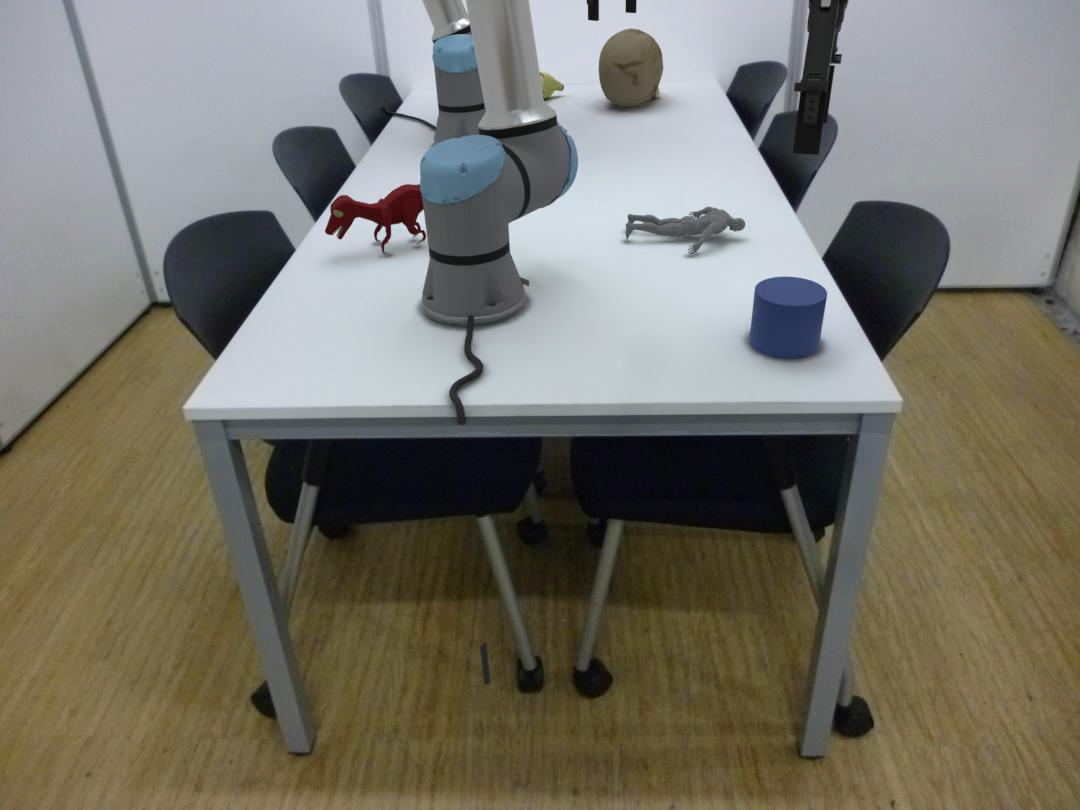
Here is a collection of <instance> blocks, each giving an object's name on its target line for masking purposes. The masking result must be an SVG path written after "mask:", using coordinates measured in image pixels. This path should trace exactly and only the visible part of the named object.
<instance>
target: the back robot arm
mask: <svg viewBox="0 0 1080 810" xmlns="http://www.w3.org/2000/svg"><path fill="white" fill-rule="evenodd" d="M421 1H422V4H423V6H424V9H425V10H426V13H427V16H428V18H429V20H430V22H431V25H432V27H433V33H432V36H431V41H432V44H433V45H432V55H431V56H432V59H431V60H432V62H433V69H434V79H435V87H436V88H435V89H436V98H437V107H438V116H437V120H436V126H435V125H434V124H433V123H430V122H428V121H427V120H425V119H422V118H420V117H416V116H413V115H408V114H405V113H400V112H395V111H391V110H389V109H388V107H387V105H386V104H384V105H383V107H382V111H385V112H386V113H387V114H389V115H392V116H396V117H401V118H405V119H409V120H414V121H417V122H420V123H422V124H425V125H426V126H428V127H429V128H430V129H433V130H435V133H434V136H433V146H434V145H436V144H438V143H440V142H443V141H445V140H448V139H451V138H460V137H462V136H466V135H479V129H478V124H479V122H480V121H481V119H482V118H483V116H484V114H485V111H486V110H485V104H484V99H483V93H482V88H481V82H480V77H479V71H478V66H477V60H476V55H475V49H474V44H473V38H472V33H471V27H470V22H469V16H468V11H466V10H467V9H466V7H465V5H464V2H463V0H421ZM637 4H638V3H637V0H625V14H626V13H627V14H637ZM586 5H587V21H594V22H599V21H600V0H586Z"/></svg>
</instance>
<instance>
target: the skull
mask: <svg viewBox="0 0 1080 810" xmlns="http://www.w3.org/2000/svg"><path fill="white" fill-rule="evenodd" d="M663 61H664V60H663V53H662V49H661V47H660V45H659V43H658V42H657V41H656V39H655V38H654V37H653V36H652V35H650V34H649V33H647V32H646V31H643V30H640V29H638V28H632V27H631V28H625V29H623V30H621V31H620V30H619V31H618V32H617V33H615V34H613V35H612V36H610V37H609V38H608V39H607V40H606V42H605V43H604V44H603V46H602V48H601V50H600V54H599V58H598V79H599V83H600V89H601V90H602V92H603V95H604V96H605V98H606V99H607V100H608V101H609V102H610V103H612V104H614V105H616V106H619V107H623V108H631V107H635V106H638V105H641V104H643V103H647V102H648V101H650V100H652V98H654V99H658V98H659V96H660V89H659V85H660V82H661V80H662V76H663V73H664V62H663Z"/></svg>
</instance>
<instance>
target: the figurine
mask: <svg viewBox="0 0 1080 810" xmlns="http://www.w3.org/2000/svg"><path fill="white" fill-rule="evenodd" d="M636 222H640V223H636ZM728 227H729V231H733V232H735V233H736V232H741V231H743V230H744V229H745V227H746V221H745V220H744V219H743V218H742V217H737V218H734V217H732V216H731V215H730V214H729V212H727V211H726V210H724V209H721V208H720V209H718V208H717V207H713V206H705V207H704V208H703V209H700V210H697V211H690V212H689V214H688V215H684V216H683V217H682V218H678V217H669V218H662V219H660V218H659V217H657V216H655V215H653V214H644V215H642V214H641V215H640V214H633V213H632V214H631V213H628V214H627V222H626V223H625V240H626V241H628V240H629V237H630V235H631V234H632V232H633V231H641V232H644V233H645V232H646V233H649V234H654V235H656V236H657V235H658V236H664V237H683V236H700V238H699V240H698V241H696V242H694V243H693V244H692V245H688V249H687V251H688V254H689V255H690V256H692V255H693V254H694V253H695V254H696V253H697V252H698V251H699V250H700V249H701V247H702V246H703V244H704V243H705V242H706V241H708V240H709V239H710V238H711V237H712V236H713V235H715V236H716V235H719V234H721V233H723V232H724V231H725V230H726V229H727V228H728Z"/></svg>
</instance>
